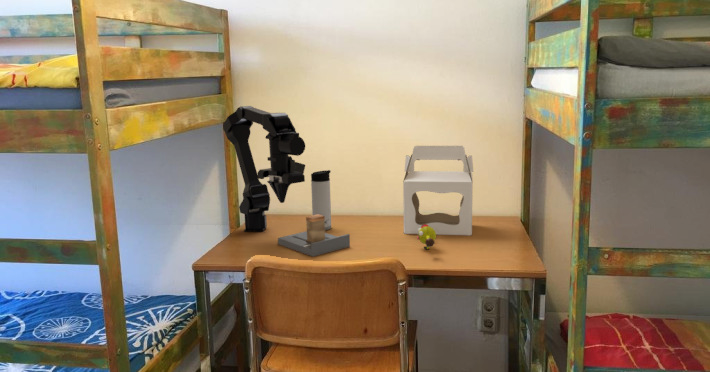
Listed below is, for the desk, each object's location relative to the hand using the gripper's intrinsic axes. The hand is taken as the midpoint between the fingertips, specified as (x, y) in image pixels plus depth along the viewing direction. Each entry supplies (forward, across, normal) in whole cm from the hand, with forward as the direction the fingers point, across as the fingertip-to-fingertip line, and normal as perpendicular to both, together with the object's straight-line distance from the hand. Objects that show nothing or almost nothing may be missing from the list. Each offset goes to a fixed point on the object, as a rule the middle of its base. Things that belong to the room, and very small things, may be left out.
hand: (282, 202), depth 188 cm
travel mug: (+12, +2, -17) cm, 21 cm away
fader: (+10, -17, 0) cm, 20 cm away
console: (+12, -12, -3) cm, 17 cm away
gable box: (+13, -26, -44) cm, 53 cm away
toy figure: (+13, -39, -25) cm, 48 cm away
